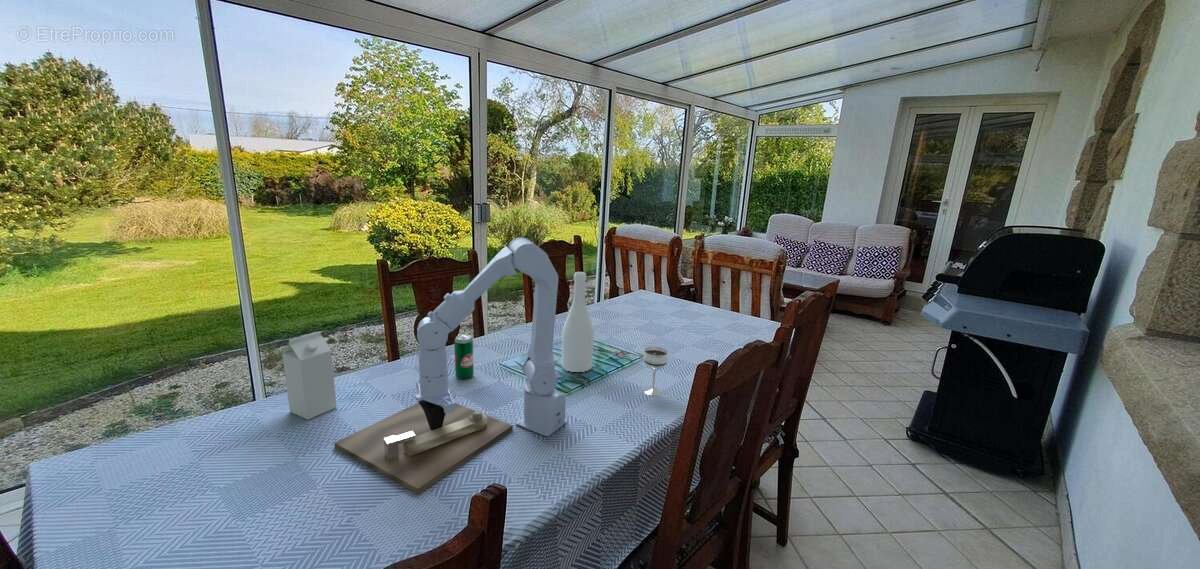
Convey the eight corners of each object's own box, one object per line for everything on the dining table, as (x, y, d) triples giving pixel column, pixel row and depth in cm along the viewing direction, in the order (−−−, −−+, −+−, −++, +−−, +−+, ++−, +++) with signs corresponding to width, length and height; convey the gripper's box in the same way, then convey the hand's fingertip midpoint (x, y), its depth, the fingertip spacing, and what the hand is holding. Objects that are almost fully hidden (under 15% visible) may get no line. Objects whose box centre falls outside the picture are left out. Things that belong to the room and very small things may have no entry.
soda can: (462, 381, 128) (461, 341, 125) (451, 376, 131) (450, 337, 128) (477, 375, 132) (476, 336, 129) (466, 370, 135) (465, 332, 132)
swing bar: (481, 419, 106) (480, 407, 105) (490, 426, 103) (489, 413, 103) (402, 448, 94) (401, 434, 93) (410, 457, 91) (409, 443, 90)
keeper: (412, 445, 96) (411, 429, 95) (416, 451, 94) (415, 434, 93) (384, 454, 92) (383, 438, 91) (388, 460, 90) (387, 443, 89)
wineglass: (664, 387, 130) (668, 347, 127) (665, 398, 124) (669, 357, 121) (640, 385, 131) (643, 345, 128) (640, 396, 124) (643, 354, 122)
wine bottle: (557, 363, 143) (559, 270, 136) (584, 359, 147) (588, 268, 140) (567, 376, 134) (570, 277, 127) (597, 371, 138) (601, 275, 131)
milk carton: (289, 412, 108) (280, 336, 104) (319, 400, 114) (311, 328, 110) (307, 420, 105) (298, 343, 101) (337, 407, 111) (329, 334, 107)
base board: (512, 430, 105) (512, 425, 105) (418, 494, 83) (417, 488, 83) (435, 399, 118) (434, 394, 117) (334, 447, 96) (334, 442, 95)
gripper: (401, 366, 99) (404, 422, 103) (430, 390, 89) (433, 451, 93) (432, 358, 104) (434, 412, 107) (463, 380, 94) (465, 438, 97)
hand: (436, 429), depth 100 cm, fingers closed
